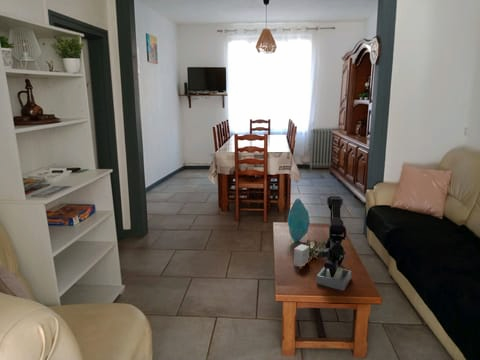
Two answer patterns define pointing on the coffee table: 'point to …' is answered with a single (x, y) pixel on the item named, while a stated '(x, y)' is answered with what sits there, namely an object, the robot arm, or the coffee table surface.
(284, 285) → the coffee table surface
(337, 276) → the sage crate
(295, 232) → the teal pointed ovoid
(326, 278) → the grey crate
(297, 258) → the small box
